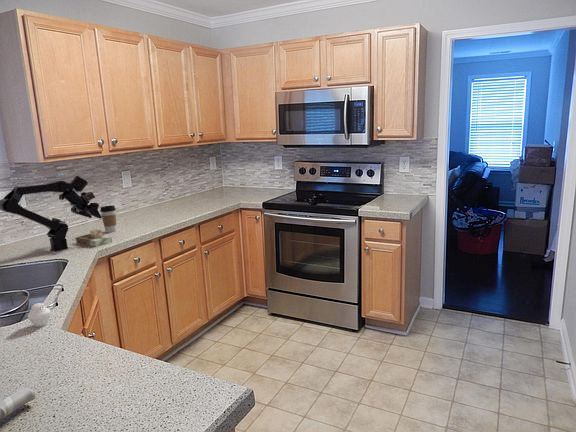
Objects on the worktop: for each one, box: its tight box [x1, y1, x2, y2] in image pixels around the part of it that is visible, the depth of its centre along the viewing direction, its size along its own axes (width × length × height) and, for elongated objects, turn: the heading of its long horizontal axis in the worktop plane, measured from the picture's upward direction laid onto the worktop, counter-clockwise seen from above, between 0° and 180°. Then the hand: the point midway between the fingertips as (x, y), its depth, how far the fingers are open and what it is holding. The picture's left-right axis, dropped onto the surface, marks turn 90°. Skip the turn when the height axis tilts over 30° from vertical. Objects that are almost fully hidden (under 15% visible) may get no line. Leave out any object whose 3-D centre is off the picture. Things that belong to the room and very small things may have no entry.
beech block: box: [89, 228, 103, 239], centre depth 225 cm, size 4×4×4 cm
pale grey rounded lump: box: [27, 302, 51, 328], centre depth 132 cm, size 6×6×7 cm
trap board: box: [75, 233, 113, 248], centre depth 228 cm, size 9×18×3 cm, turn 56°
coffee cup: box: [99, 205, 117, 234], centre depth 250 cm, size 8×8×15 cm
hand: (96, 217), depth 233 cm, fingers open, 9 cm apart
